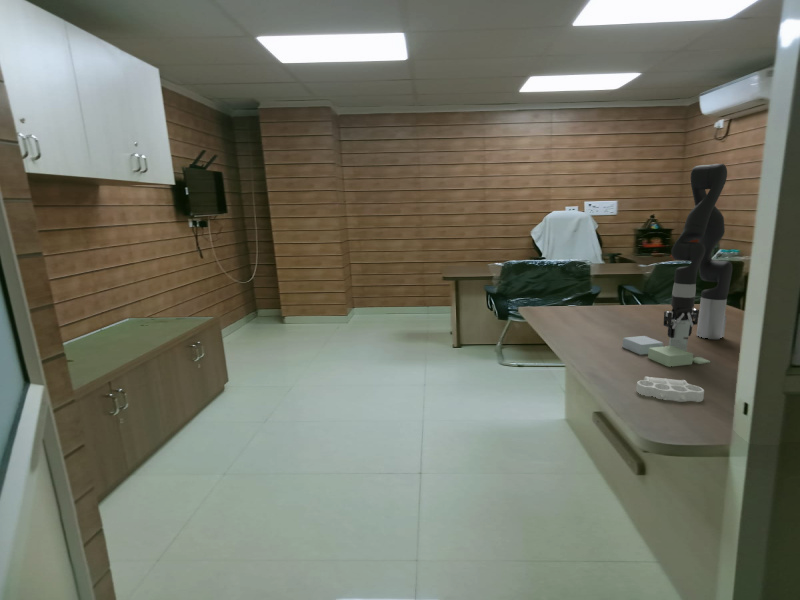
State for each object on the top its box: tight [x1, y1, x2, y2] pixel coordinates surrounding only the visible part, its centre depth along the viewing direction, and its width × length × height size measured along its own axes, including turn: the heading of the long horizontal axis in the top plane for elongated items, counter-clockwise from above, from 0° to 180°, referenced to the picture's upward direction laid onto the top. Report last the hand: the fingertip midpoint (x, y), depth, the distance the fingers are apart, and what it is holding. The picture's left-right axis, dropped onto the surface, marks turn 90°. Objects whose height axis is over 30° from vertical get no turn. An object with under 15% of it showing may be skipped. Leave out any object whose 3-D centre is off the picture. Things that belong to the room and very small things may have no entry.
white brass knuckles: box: [635, 375, 705, 403], centre depth 143 cm, size 3×18×15 cm
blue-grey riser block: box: [622, 335, 664, 356], centre depth 184 cm, size 10×10×4 cm
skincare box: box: [668, 319, 690, 351], centre depth 178 cm, size 6×4×12 cm
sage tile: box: [692, 356, 711, 365], centre depth 170 cm, size 5×5×1 cm
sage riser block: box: [647, 345, 694, 368], centre depth 171 cm, size 10×10×4 cm
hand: (679, 336), depth 179 cm, fingers closed on skincare box, 7 cm apart
